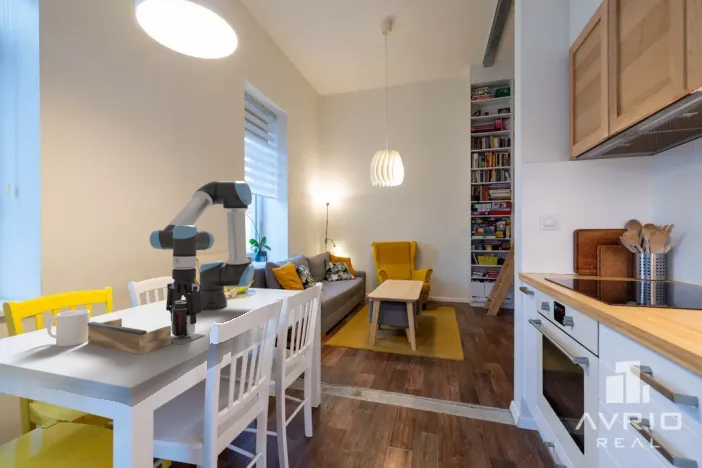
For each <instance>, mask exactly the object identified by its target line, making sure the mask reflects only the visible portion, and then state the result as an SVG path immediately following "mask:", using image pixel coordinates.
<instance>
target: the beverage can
mask: <svg viewBox="0 0 702 468" xmlns="http://www.w3.org/2000/svg"><path fill="white" fill-rule="evenodd" d="M192 312H193V311H192ZM188 315H189V311H188V307H187V303H186V299H181V300H179V301H175V304H174V305H173V308H172V321H171V322H172V331H171V335H172V336H173V335H175V336H177V337H183V336H187V335H190V334H187V316H188Z"/></svg>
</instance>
